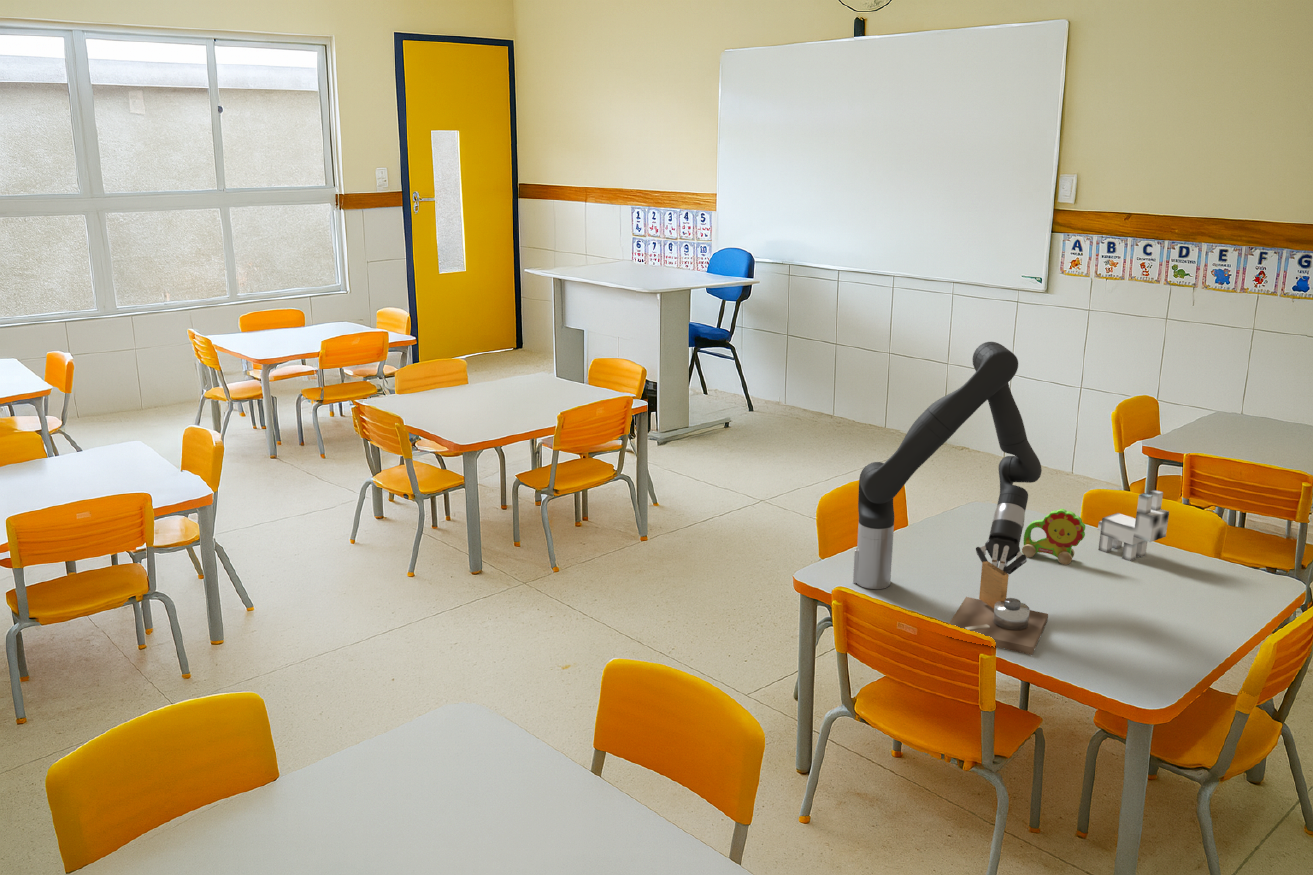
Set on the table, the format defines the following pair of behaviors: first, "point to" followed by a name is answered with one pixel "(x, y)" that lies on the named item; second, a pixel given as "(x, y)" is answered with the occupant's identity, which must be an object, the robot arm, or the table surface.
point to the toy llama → (1135, 527)
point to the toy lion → (1056, 535)
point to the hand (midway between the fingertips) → (994, 586)
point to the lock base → (980, 620)
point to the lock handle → (1002, 599)
